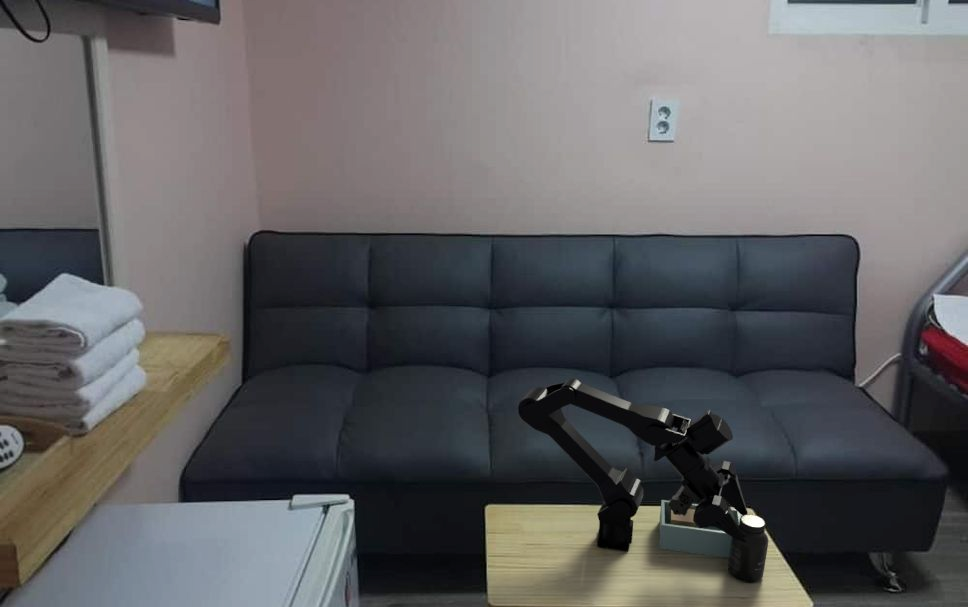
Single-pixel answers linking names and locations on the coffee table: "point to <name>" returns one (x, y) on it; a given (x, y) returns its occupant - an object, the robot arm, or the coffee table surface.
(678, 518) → the walnut cube
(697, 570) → the coffee table surface
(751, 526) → the supplement bottle
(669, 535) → the tote
